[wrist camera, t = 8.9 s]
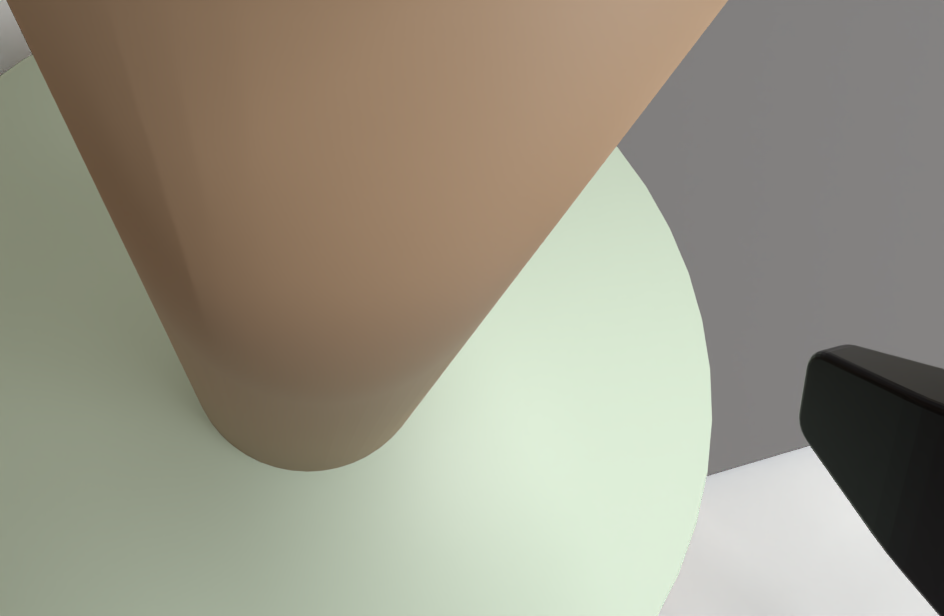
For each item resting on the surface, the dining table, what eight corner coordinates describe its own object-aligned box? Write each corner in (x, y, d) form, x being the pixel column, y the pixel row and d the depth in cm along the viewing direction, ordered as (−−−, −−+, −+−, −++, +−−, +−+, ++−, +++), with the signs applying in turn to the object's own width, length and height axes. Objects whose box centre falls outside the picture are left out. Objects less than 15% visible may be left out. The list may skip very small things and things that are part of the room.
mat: (1151, 344, 25) (1164, 341, 25) (668, 486, 21) (675, 484, 21) (934, -106, 29) (942, -115, 29) (488, -64, 25) (491, -74, 24)
